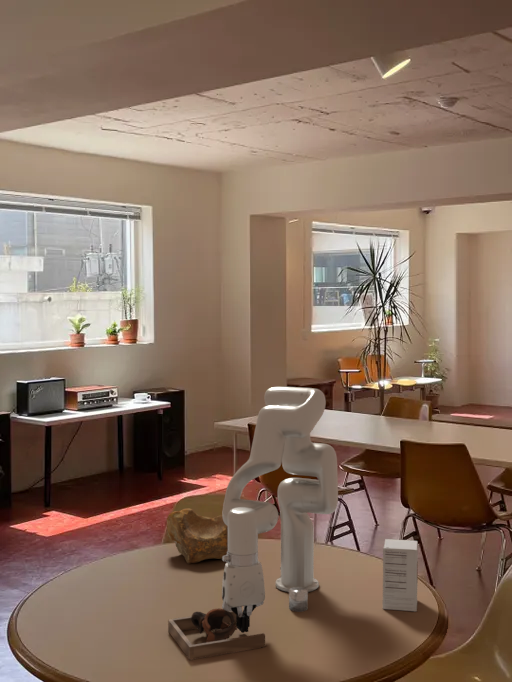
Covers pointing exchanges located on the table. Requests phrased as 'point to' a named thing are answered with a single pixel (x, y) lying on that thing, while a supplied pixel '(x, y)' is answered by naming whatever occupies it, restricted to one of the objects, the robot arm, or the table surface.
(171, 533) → the rough brown rock
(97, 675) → the table surface
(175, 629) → the display frame
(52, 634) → the table surface
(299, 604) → the grey tin
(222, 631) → the pottery mug
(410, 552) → the supplement box
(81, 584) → the table surface
